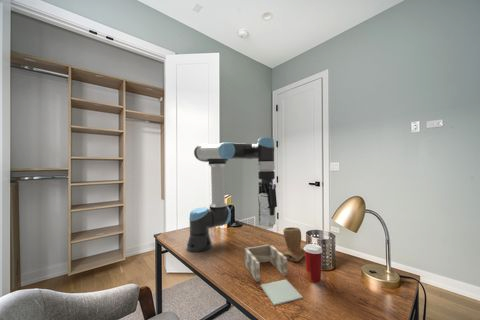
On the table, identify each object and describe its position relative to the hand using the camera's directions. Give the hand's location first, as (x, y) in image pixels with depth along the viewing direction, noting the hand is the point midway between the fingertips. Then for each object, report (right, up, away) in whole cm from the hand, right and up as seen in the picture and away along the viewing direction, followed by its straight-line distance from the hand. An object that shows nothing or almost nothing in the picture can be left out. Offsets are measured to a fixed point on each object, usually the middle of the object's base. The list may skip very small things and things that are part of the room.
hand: (267, 219), depth 91 cm
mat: (+3, -24, -13) cm, 28 cm away
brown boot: (+17, -25, +17) cm, 35 cm away
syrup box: (0, -2, 0) cm, 2 cm away
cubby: (-1, -25, +3) cm, 25 cm away
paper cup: (+20, -25, -5) cm, 32 cm away
